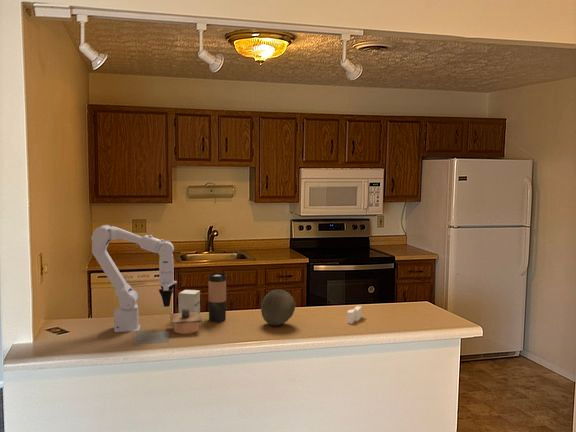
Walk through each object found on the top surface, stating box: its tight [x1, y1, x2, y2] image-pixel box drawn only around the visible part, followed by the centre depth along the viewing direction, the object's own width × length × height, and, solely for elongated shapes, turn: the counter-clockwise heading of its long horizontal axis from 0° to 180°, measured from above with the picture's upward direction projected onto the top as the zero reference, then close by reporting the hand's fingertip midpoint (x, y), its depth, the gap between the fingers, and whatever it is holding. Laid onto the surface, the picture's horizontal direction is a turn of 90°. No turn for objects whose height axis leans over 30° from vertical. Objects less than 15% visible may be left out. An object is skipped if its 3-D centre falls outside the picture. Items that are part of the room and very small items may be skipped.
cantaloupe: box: [260, 289, 296, 327], centre depth 228 cm, size 14×14×15 cm
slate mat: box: [132, 331, 171, 345], centre depth 209 cm, size 13×13×1 cm
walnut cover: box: [169, 309, 203, 325], centre depth 218 cm, size 12×12×4 cm
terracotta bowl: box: [173, 322, 200, 335], centre depth 219 cm, size 10×10×5 cm
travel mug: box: [208, 272, 227, 323], centre depth 234 cm, size 8×8×20 cm
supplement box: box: [178, 289, 201, 313], centre depth 233 cm, size 7×7×13 cm
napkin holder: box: [346, 305, 363, 324], centre depth 237 cm, size 15×11×6 cm
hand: (167, 303), depth 220 cm, fingers open, 7 cm apart
